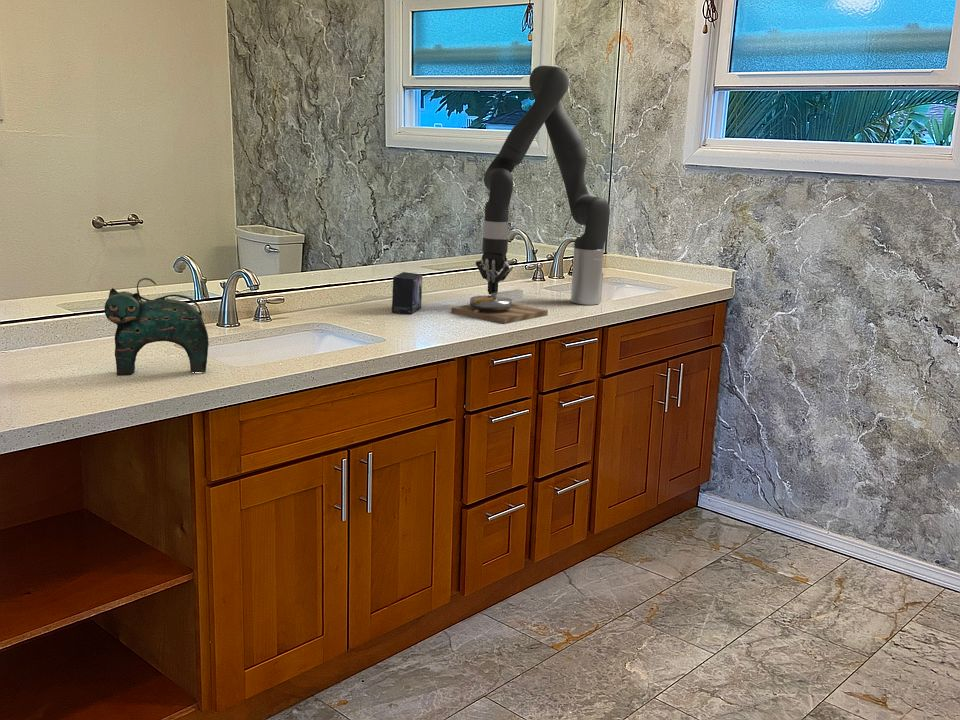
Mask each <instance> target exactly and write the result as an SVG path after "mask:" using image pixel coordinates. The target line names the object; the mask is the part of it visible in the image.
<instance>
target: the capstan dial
mask: <svg viewBox="0 0 960 720" xmlns="http://www.w3.org/2000/svg"><path fill="white" fill-rule="evenodd" d="M523 298H524V290H523V289H513V290H511V289H510V290H504V291H498V292H497V293H491V295H477V296H470V298H469V299H470V300H469V301H470V302H469V303H470V306H471V307H473V308H478V309H484V310H506V309H510V308H511V307H512V303H515V302H520V301H521V302H522V301H523Z"/></svg>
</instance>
